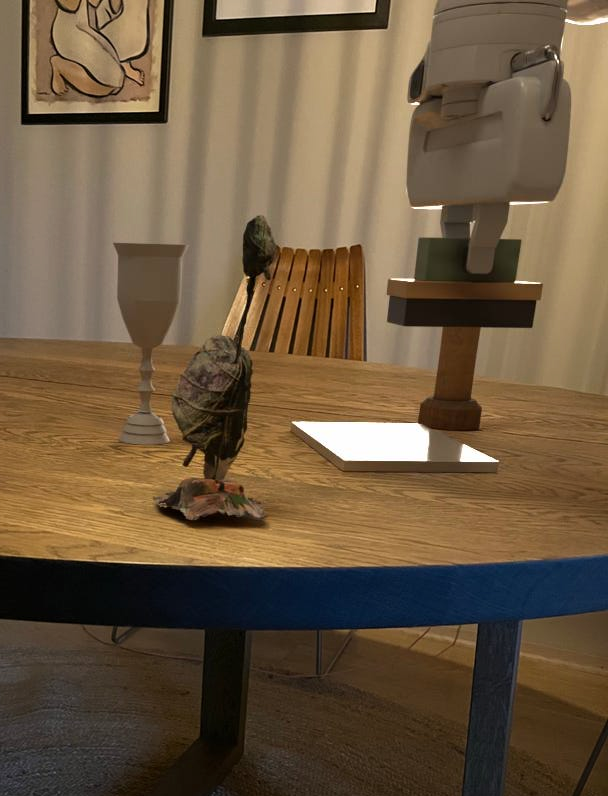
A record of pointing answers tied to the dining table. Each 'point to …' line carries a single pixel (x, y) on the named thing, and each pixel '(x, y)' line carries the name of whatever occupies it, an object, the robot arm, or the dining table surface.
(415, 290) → the brush
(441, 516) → the dining table surface
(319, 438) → the tile
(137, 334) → the chalice
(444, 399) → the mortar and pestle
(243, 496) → the plant with pod
